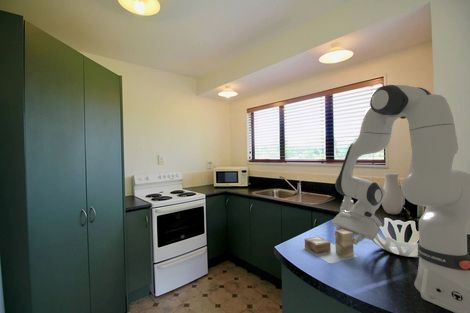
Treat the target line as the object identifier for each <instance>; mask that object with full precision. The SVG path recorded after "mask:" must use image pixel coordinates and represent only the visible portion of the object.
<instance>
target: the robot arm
mask: <svg viewBox="0 0 470 313" xmlns="http://www.w3.org/2000/svg"><path fill="white" fill-rule="evenodd" d="M369 105H370V107H369V108H367V109H366V110H365V113H364V115H363V118H362V122H361V126H360V131H359V135H358V137H357V139H356V140H355V141H353V142H351V143H350V145H349V147H348V149H347V152H346V155H345V157H344V161H343V163H342V166H341V169H340V171H339V174H338V176H337V177H336V181H335V184H334V186H335V189H336V191H337V192H338V193H339V194H340V195H343V196H350V197H351V198H353V199H356V200H357V201H356V202H355V203H354V205H353V207H352V208H351V210H350V211H349V212H348V211H341V210H340V212H339V213H338V214H336V216H334V218H333V219H332V224H333V226H334V227H335V231H336V230H341V229H345V230H347V231H350V232H353V235H357V237H356V238H354V237H353V240H352V243H353V245H356V246H357V245H358V244H359V242H361V241H364V239H366V240H370V241H373V240H375V239H376V238H377V236H378V234H379V232H380V227H382V225H383V223H382V222H381V220H380V219H379V218H378V217H377V216H376V215H375V213H376V211H377V210H379V208H380V206H382V201H383V198H384V196H385V190H384V189H383V187H382V186H381V185H380V184H378V183H377V182H375V181H372V180H369V179H365V178H361V177H359V176H354V175H353V172H354V170H355V166H356V164H357V161H358V159H359V158H360V157H361V156H364V155H370V154H375V153H379V152H381V151H384V150H385V149H386V148H387V147H388V145H389V143H390V141H391V136H392V131H393V127H394V126H393V125H394V123H395V121H396V120H398V119H399V118H400V119H402V120H403V119H407V122H408V128H409V129H408V130H409V138H410V144H411V161H410V165H409V170H408V172H407V175H406V176H405V178H404V179H403V180H402V182H401V186H400V189H401V192H402V195H403V198H405V199H406V200H407V201H408V202H409V203H411V204H413V205H416V206H421V207H425V209H424V211H423V214H422V215H421V217H420V218H419V220H418V241H419V242H418V243H417V257H418V269H417V273H416V277H415V280H414V284H413V285H414V287H415V289H416V290H418V292H419V293H420V296H421V298H422V299H423V300H424V301H427V302H429V303H432V304H434V305H437V306H439V307H441V308H443V309H445V310H447V311H451V312H453V313H470V253H469V252H468V243H467V242H468V235H467V234H468V232H467V231H468V222H469V218H470V173H468V172H465V171H461V170H458V169H457V170H456V169H453V163H454V158H455V156H456V154H457V153H458V150H459V144H458V137H457V133H456V132H457V131H456V125H455V120H454V116H453V113H452V110H451V107H450V105H449V103H448V100H447V98H446V97H445V96H443V95H441V94H432V93H431V92H430V91H429V90H427V89H425V88H422V87H416V86H410V85H408V84H407V85H405V84H401V85H400V84H396V85H395V84H387V85H382V86H380V87H378V88H376V89H375V90H374V91H373V93H372V94H371V96H370V99H369Z"/></svg>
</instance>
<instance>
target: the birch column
mask: <svg viewBox="0 0 470 313" xmlns="http://www.w3.org/2000/svg"><path fill="white" fill-rule="evenodd" d="M353 238H354V234H353V232H350V231H347V230H345V229H341V230H336V229H335V230H334V241H335V243H334V245H335V246H336V253H337V254H339V255H341V256H343V257H344V258H346V257H350V256H354V254H355V253H354V252H355V251H354V244H353V243H352V240H353Z"/></svg>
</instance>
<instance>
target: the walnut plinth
mask: <svg viewBox="0 0 470 313" xmlns="http://www.w3.org/2000/svg"><path fill="white" fill-rule="evenodd" d="M330 243H331V242H330V241H328V239H327V240H326V239H325V238H322V237H320V236H313V237H309V238H304V246H305V248H307V249H309V250H310V251H312V252H314V253H316V254H319V253H324V252H328V251H331V248H330Z"/></svg>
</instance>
